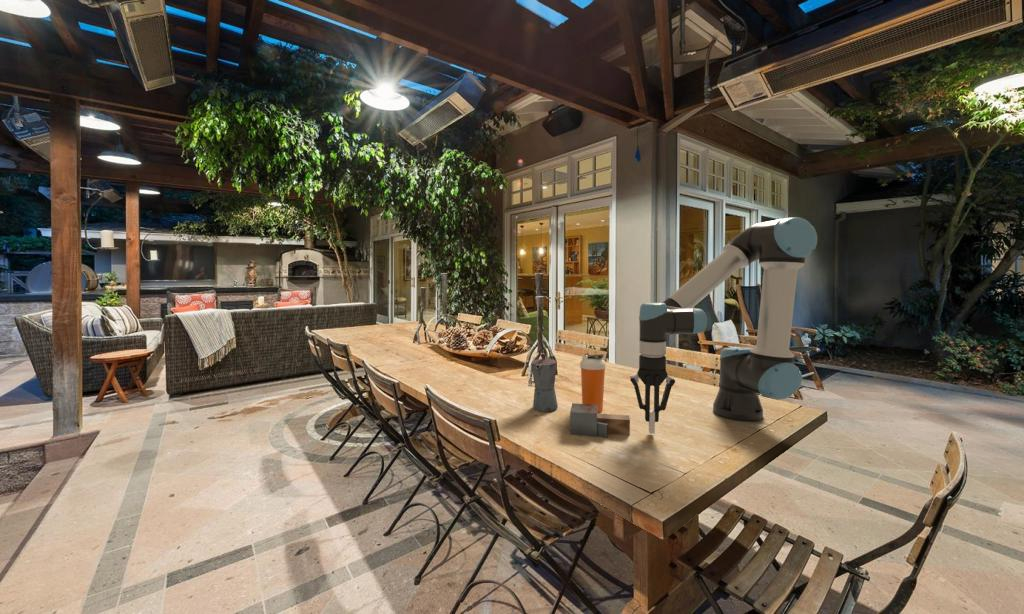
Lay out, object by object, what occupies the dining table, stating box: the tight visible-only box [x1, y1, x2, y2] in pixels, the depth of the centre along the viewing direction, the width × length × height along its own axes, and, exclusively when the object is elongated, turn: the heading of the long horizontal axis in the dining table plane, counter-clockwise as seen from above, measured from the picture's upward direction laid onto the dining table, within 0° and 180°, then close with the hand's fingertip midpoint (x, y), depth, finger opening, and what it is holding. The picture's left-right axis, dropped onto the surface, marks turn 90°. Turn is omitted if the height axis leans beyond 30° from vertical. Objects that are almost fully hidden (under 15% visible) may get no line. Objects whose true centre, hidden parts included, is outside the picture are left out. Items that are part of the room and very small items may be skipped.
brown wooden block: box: [597, 413, 631, 436], centre depth 126 cm, size 14×4×5 cm, turn 78°
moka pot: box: [531, 354, 559, 413], centre depth 147 cm, size 10×15×20 cm, turn 158°
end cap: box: [569, 402, 609, 438], centre depth 126 cm, size 11×10×7 cm
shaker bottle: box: [579, 353, 607, 414], centre depth 145 cm, size 9×9×20 cm
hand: (651, 431), depth 123 cm, fingers closed
